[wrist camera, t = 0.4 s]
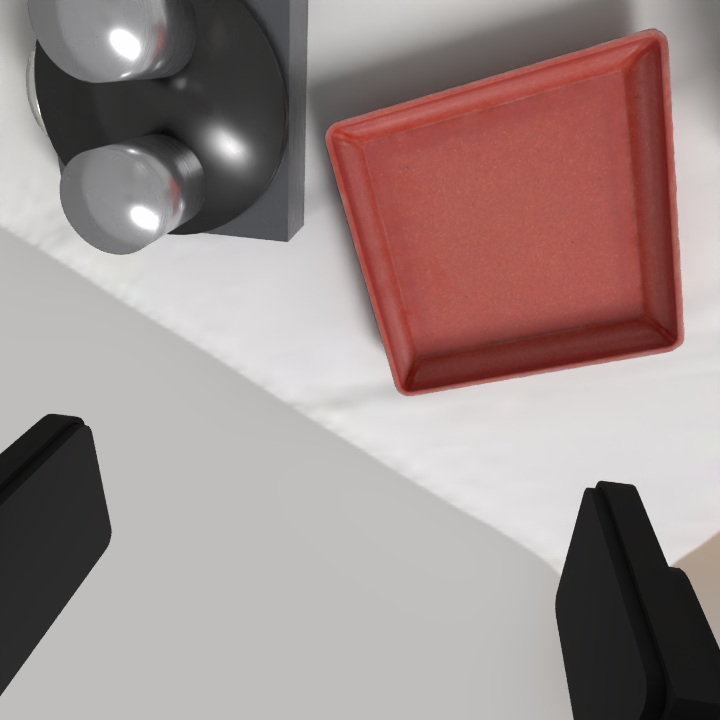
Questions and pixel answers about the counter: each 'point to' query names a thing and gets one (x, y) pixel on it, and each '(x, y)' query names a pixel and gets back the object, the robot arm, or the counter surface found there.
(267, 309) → the counter surface
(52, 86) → the scale
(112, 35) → the cylinder
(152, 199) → the cylinder
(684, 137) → the counter surface
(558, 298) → the plant saucer
